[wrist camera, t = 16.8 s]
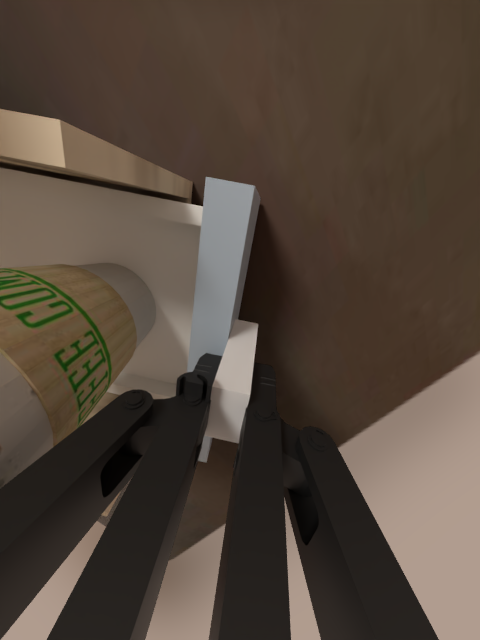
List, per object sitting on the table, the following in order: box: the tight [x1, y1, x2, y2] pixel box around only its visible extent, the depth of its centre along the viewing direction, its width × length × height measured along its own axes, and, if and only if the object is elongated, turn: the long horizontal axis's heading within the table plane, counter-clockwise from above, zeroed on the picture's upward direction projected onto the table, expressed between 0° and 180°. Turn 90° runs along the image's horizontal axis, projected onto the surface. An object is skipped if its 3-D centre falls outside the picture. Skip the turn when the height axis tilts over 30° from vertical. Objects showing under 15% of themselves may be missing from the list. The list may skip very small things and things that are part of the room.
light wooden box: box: [0, 109, 193, 517], centre depth 14 cm, size 19×18×11 cm
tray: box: [0, 168, 261, 462], centre depth 16 cm, size 20×17×6 cm
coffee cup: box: [0, 263, 156, 488], centre depth 11 cm, size 10×10×15 cm
